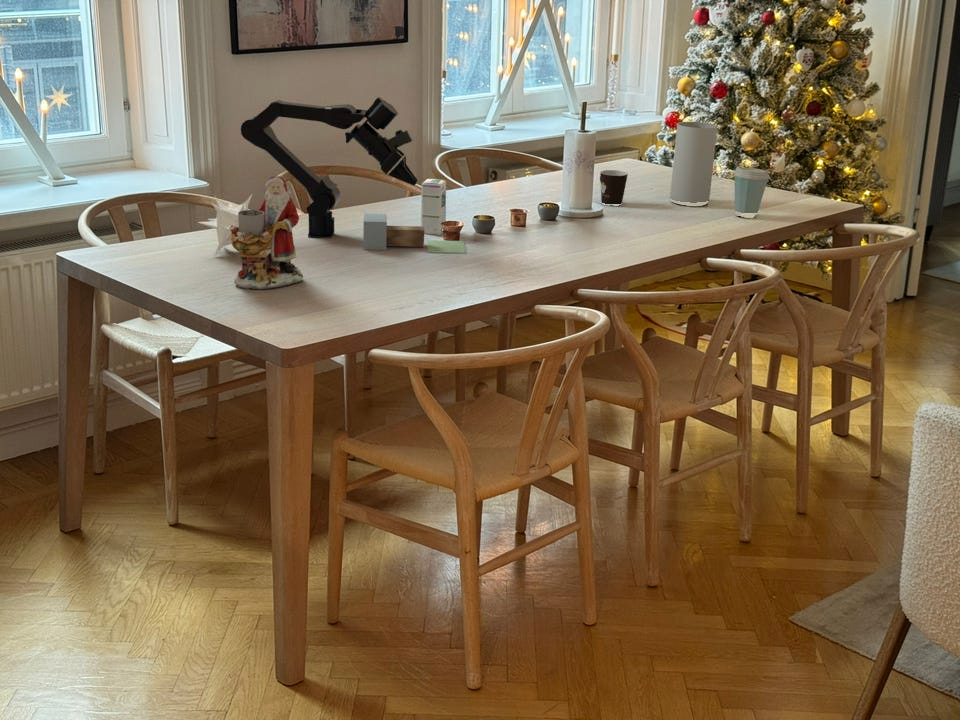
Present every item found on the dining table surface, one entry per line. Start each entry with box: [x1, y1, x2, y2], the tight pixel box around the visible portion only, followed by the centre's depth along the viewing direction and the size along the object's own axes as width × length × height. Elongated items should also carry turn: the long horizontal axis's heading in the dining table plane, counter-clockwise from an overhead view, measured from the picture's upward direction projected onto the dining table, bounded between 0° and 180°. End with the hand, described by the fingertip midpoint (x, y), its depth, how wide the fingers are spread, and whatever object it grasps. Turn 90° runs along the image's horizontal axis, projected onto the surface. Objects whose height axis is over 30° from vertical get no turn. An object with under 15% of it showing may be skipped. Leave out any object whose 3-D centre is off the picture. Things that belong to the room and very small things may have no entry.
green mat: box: [426, 239, 467, 254], centre depth 316 cm, size 10×12×1 cm
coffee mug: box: [599, 169, 629, 204], centre depth 373 cm, size 12×9×10 cm
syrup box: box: [420, 178, 447, 236], centre depth 328 cm, size 6×6×14 cm
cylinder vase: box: [669, 121, 718, 203], centre depth 375 cm, size 12×12×25 cm
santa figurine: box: [230, 175, 304, 290], centre depth 276 cm, size 17×14×25 cm
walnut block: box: [386, 225, 425, 248], centre depth 314 cm, size 16×4×4 cm, turn 94°
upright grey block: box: [362, 212, 388, 251], centre depth 313 cm, size 6×9×8 cm, turn 4°
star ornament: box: [197, 194, 253, 257], centre depth 301 cm, size 20×14×14 cm
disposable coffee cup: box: [733, 167, 770, 214], centre depth 362 cm, size 11×11×15 cm
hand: (416, 183), depth 315 cm, fingers open, 9 cm apart
